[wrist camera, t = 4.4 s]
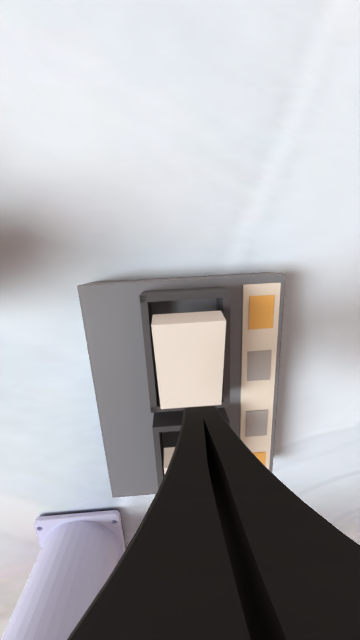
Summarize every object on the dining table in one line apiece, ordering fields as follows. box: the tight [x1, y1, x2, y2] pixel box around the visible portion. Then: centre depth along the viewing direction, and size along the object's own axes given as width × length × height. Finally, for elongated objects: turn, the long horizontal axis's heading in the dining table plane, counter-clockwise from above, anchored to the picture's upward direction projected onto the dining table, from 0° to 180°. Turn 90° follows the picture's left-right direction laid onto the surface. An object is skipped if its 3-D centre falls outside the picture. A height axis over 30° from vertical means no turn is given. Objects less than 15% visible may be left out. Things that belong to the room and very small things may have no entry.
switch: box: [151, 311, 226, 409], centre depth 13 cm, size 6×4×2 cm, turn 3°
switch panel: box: [77, 273, 285, 497], centre depth 16 cm, size 17×13×4 cm
